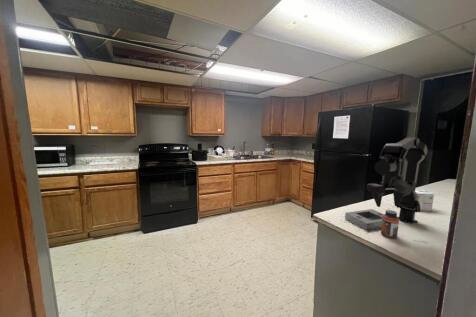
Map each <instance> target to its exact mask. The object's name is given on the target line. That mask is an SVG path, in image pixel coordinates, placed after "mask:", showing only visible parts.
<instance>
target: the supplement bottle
mask: <svg viewBox="0 0 476 317" xmlns="http://www.w3.org/2000/svg"><path fill="white" fill-rule="evenodd" d="M383 214H384V215H383V217H382V226H381V228H380V234H381V235H382V236H384V237H386V238H389V239H395V238H397V237H398V231H399V225H400V220H399V218H398V217H399V216H398V212H397V211H394V210H391V209H387V210H385V213H383Z"/></svg>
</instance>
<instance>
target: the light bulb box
mask: <svg viewBox="0 0 476 317" xmlns="http://www.w3.org/2000/svg"><path fill="white" fill-rule="evenodd" d="M415 192H416V194H417V195H418V201H419V203H420V206H421V210H420V211H427V212H428V211H429V212H431V211H433V204H434V197H435V193H434V192H431V191H428V190H416V189H415Z"/></svg>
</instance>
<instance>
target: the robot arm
mask: <svg viewBox="0 0 476 317" xmlns="http://www.w3.org/2000/svg"><path fill="white" fill-rule="evenodd" d="M428 151H429V150H428V147H427V144H426V143H424V142H422V141H421V140H420V138H417V137H405V138H404V139H402V140H400V141H397V142H396V143H395V142H393V143H386V144H384V146H383V147H382V149H381V152H380V154H379V157H378V159H380V160H378V161H377V162H375V164H374V171H375V172H376V173H377V174H379V175H380V177H382V181H381V182H379V184H378V183H367V184H366V190H367V191H368V192H370V193H371V196H372V197H373V199H374V202H375V204H376V207H378V208H380V207H381V205H382V201H383V200H382V199H383V196H385V194H386V193H385V192H386V191H392V193H393V195H392V196H393V203H394V207H396V208H399V215H398V216H397V217H398V218H399V221H402V222H404V223H406V224H413V223H418V220H415V219H416V218H415V217H416V213H421V211H422V210H421V206H420V203H419V201H418V195H417V194H416V192H415V190H416V187H417V182H418V175H419V169H420V164H421V162H423V160H425V159H426V156H427V154H428ZM404 159H405V160H406V164H407V165H406V170H405V176H404V177H405V178H404V177H403V176H402V175H401V167H402V163H403V160H404Z"/></svg>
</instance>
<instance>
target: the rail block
mask: <svg viewBox="0 0 476 317" xmlns="http://www.w3.org/2000/svg"><path fill="white" fill-rule="evenodd" d="M384 214H385V213H383V212H380V211H378V210H375V209H371V208H370V209H365V210H364V209H363V210H355V211H348V212H345V215H344V219H345V220H346V221H348V222H350V223H352V224H354V225H355V224H356V226H358V227H359V228H361V229H362V230H364V231H373V230H377V229H381V226H382V217H383V215H384Z"/></svg>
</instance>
